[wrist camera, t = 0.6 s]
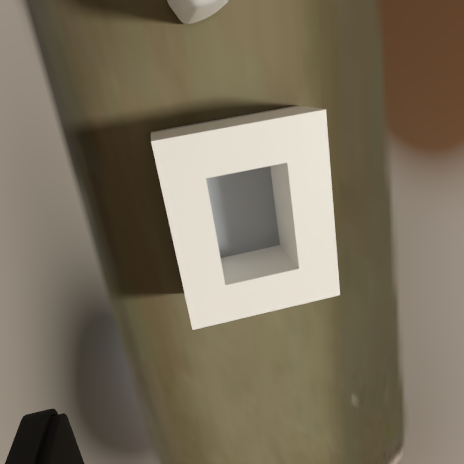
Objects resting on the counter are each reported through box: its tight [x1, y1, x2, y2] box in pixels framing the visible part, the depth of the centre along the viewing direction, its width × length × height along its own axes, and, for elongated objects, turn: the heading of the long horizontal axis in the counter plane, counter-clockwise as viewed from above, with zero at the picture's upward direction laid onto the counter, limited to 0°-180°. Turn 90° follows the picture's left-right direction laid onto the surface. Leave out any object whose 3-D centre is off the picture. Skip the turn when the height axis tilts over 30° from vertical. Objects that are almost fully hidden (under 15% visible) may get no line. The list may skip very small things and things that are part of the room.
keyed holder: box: [151, 105, 340, 330], centre depth 33 cm, size 14×12×6 cm
